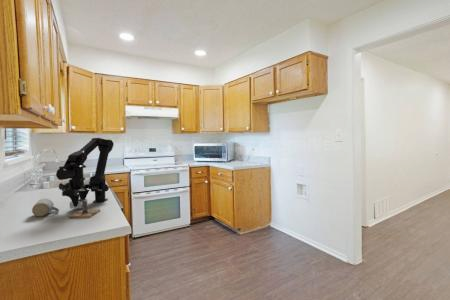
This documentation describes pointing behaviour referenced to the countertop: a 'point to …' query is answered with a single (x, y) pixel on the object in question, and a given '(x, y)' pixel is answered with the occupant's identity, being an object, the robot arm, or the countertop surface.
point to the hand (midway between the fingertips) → (78, 204)
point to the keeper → (84, 212)
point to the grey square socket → (77, 204)
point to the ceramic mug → (44, 208)
